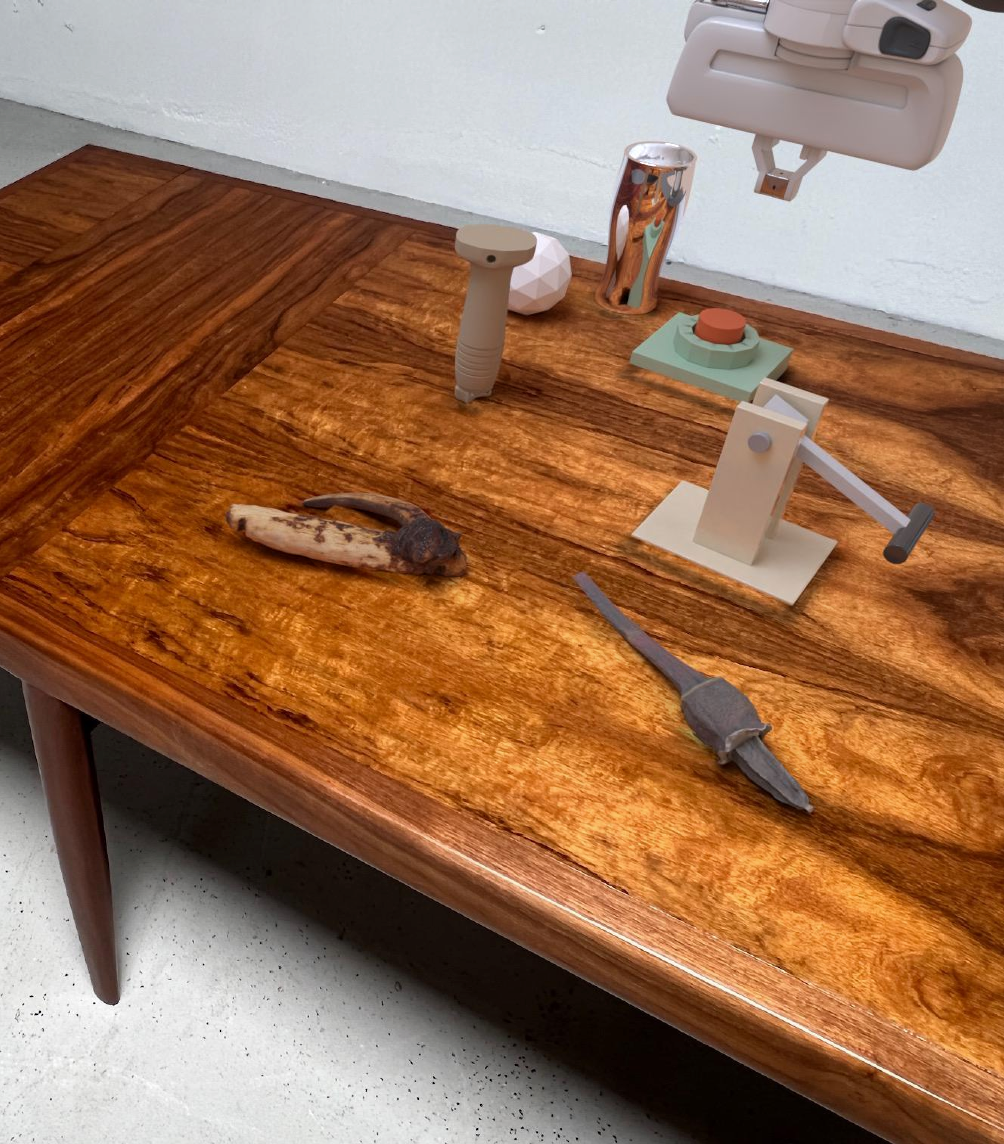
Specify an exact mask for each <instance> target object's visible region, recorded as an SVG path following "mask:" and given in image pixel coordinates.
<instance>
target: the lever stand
mask: <svg viewBox="0 0 1004 1144" xmlns="http://www.w3.org/2000/svg"><path fill="white" fill-rule="evenodd" d="M775 394H777V395H778V396H779V397H780V398H782V399H783V400H784V401H785V402H787V403H788V404H789V405H790V406H792V407H793V408H794V409H796V410H797V411H798V412H799V413H801V414H802V415H803V416H804V417H806V418H807V419H808V420H809V421H808V422H807V423H805V422H802V421H799V420H796V419H793V418H790V417H788V416H785V415H782V414H779V413H776V412H773V411H770V410H768V409H765V408H763V407H764V406H765V404H766V403H767V402H768V401H769V400H770V399H771V398H772V397H773V396H774V395H775ZM829 401H830V398H828V397H825V396H822V395H819V394H816V393H813V392H810V391H807V390H804V389H801V388H799V387H795V386H792V385H790V384H787V383H783V382H780V381H777V380H776V381H775V380H772V379H769V378H766V377H765V378H764V379H763V380H762V381H761V382H760V383H759V386H758V389H757V392H756V395H755V398H754V401H753V400H752V403H751V402H749V403H748V402H745V401H742V402H739V403H738V404H737V406H736V407H735V410H734V413H733V417H732V419H731V422H730V425H729V428H728V431H727V434H726V438H725V441H724V443H723V447H722V449H721V453H720V455H719V459H718V461H717V465H716V468H715V470H714V473H713V476H712V479H711V483H710V486H709V489H707V488H705V487H702V486H699V485H697V484H695V483H692V482H689V481H687V480H684V479H682V480H681V481H680V482H679V483H678V484H677V485H676V487H674V488H673V490H672V491H671V492H670V493H669V494H668V495H667V496H666V497H665V498H664V499H663V500H662V501H661V502H660V503H659V504H658V505H657V506H656V508H654V510H653V511H651V513H649V515H648V516H647V517H646V518H645V519H644V520H643V521H642V522H641V523H639V525H638V527H636V529H635V530H634V531H633V532H632V533H631V534H630V536H631V537H632V538H635V539H637V540H640V541H641V542H644V543H647V544H649V545H650V546H653V547H656V548H658V549H661V550H662V551H665V552H667V553H670V554H672V555H674V556H676V557H678V558H681V559H683V560H685V561H687V562H690V563H692V564H695V565H697V566H699V567H701V568H704V569H706V570H709V571H711V572H713V573H715V574H718V575H720V576H722V577H725V578H727V579H730V580H732V581H733V582H736V583H739V584H741V585H744V586H745V587H748V588H750V589H753V590H755V591H757V592H759V593H762V594H763V595H766V596H768V597H771V598H773V599H775V600H778V601H780V602H782V603H784V604H787V605H789V606H793V607H794V605H795V604H796V602H797V601H798V600H799V598H800V597H801V596H802V594H803V593H804V590H805V589H806V588H807V587H808V585H809V584H810V583H811V581H812V580H813V579H814V577H815V576H816V575H817V573H818V572H819V570H820V569H821V567H822V566H823V565H824V563H825V562H826V560H827V559H828V558H829V556H830V555H831V553H832V552H833V550H834V549H836V547H837V545H838V543H839V541H838V540H835V539H833V538H831V537H828V536H825V535H822V534H821V533H818V532H816V531H813V530H810V529H808V528H805V527H802V526H800V525H798V524H795V523H793V522H790V521H788V520H785V519H784V515H785V514H786V510H787V508H788V505H789V503H790V501H791V498H792V495H793V493H794V490H795V488H796V485H797V482H798V480H799V479H800V476H801V472H802V469H803V468H804V465H805V463H804V462H803V461H802V460H800V459H799V458H798V457H797V456H796V454H797V451H798V448H799V446H800V443H801V441H802V438H803V435H805V436H807V437H808V438H809V439H810V440H812V441H813V442H814V439H815V436H816V434H817V431H818V429H819V426H820V424H821V421H822V419H823V416H824V413H825V411H826V408H827V406H828V404H829Z"/></svg>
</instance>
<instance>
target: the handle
mask: <svg viewBox="0 0 1004 1144" xmlns="http://www.w3.org/2000/svg"><path fill="white" fill-rule="evenodd" d="M536 244H537V238H536V236H535V235H534V234H533V233H532V232H530V231H527V230H524V229H521V228H517V227H513V226H508V225H500V224H489V223H486V224H485V223H482V224H481V223H480V224H468V225H467V224H466V225H464V226H461V227H460V228H458V229H457V231H456V233H455V241H454V250H455V253H456V254H457V255H458V256H459V257H460V258H462V259H463V260H465V261H466V262H468V263H469V264H470V271H469V272H470V273H469V278H468V285H467V288H466V289H467V290H466V296H465V300H464V305H463V311H462V314H461V318H460V323H459V324H460V325H459V329H458V334H457V340H456V347H455V360H454V375H455V377H454V378H455V381H456V385H454V397H455V398H456V400H457V401H460V402H464V403H465V404H466V405H468V404H469V403H471V402H472V401H473V400H475V399H477V398H482V397H483V398H484V397H490V396H491V395H492V389H493V388H494V385H495V382H496V380H497V378H498V374H499V371H500V368H501V363H502V359H503V355H504V354H503V353H504V348H505V341H506V332H507V322H508V311H509V310H508V301H509V292H510V283H511V276H512V273H513V269H514V268H515V267H517V266H520V265H524V264H526V263H528V262H529V261H531V260H532V259H533V257H534V254H535V250H536Z"/></svg>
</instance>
